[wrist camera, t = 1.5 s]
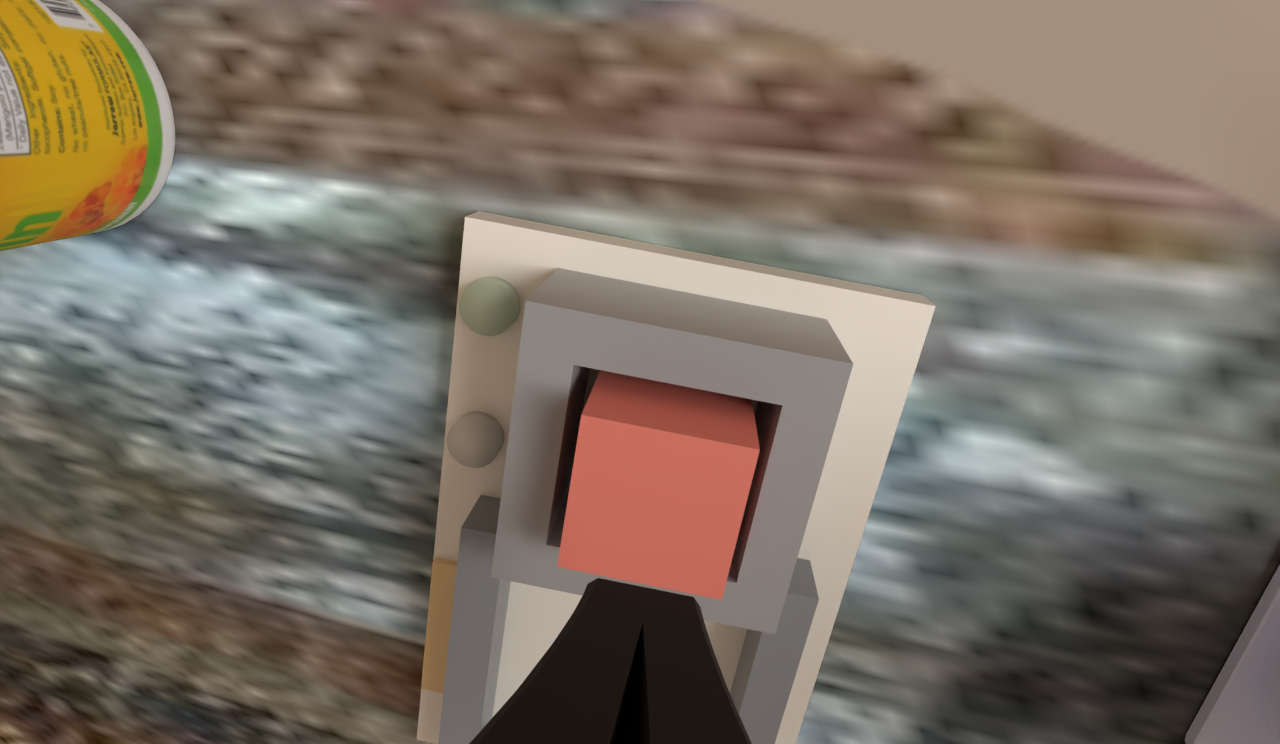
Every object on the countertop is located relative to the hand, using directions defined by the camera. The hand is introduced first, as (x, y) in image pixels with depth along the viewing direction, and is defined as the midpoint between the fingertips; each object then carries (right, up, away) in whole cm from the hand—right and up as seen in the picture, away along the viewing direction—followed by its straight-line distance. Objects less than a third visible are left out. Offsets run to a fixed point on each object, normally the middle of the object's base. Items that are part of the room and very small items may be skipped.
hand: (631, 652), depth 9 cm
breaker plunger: (+1, +2, +6) cm, 7 cm away
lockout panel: (0, -1, +9) cm, 10 cm away
